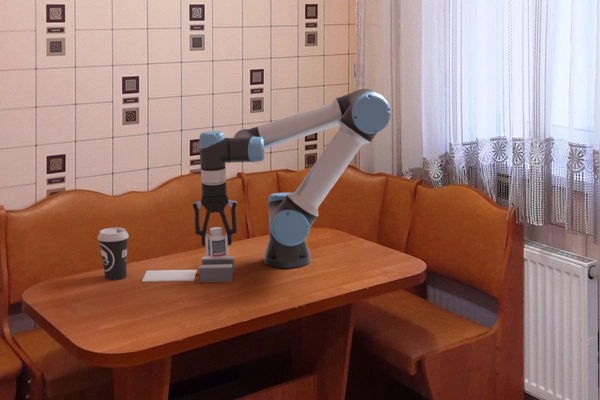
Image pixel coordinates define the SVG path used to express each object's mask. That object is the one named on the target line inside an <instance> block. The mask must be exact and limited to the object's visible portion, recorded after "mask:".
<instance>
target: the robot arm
mask: <svg viewBox="0 0 600 400" xmlns="http://www.w3.org/2000/svg"><path fill="white" fill-rule="evenodd" d="M391 113H392V112H391V107H390V104H389V102H388V101H387V99H386V98H385V96H383V95H381V94H380V93H378V92H377V91H375V90H373V89H371V88H362V89H357V90H355V91H352V92H350V93H346V94H345V95H342V96H339V97H335V98H334V99H333V101H332V102H331V103H327V104H323V105H322V106H318V107H316V108H312V109H309V110H306V111H302V112H299V113H296V114H293V115H292V114H291V115H289V116H286V117H283V118H280V119H276V120H274V121H271V122H267V123H264V124H261V125H257V126H255V127H251V128H248V129H247V128H243V129H240V130H237V132H236V133H235V134H234V136H233V137H226V136H225V133H224V132H223V131H220V130H209V131H203V132H202V133H200V134H199V137H198V138H199V149H198V150H199V160H200V180H201V183H202V184H201V199H200V200H199V201H193V204H192V208H193V209H194V226H195V227H194V231H195V235H199V236H200V237H201V246H203V247H205V257H209V247H208V237H209V234H208V233H207V229H208V227H209V221H210V216H211V214H212V213H213V214H214V213H217V214H218V213H219V214H220V215H219V216H220V217H221V220H222V221H221V222H222V224H223V227H224V229H225V234H224V236H225V252H226V256H225V257H229V255H230V253H229V252H230V251H229V246H231V245H232V244H233V241H232V240H233V239H232V235H234V234H237V231H238V225H237V213H236V208H237V204H238V201H237V200H232V199H229V197H228V193H227V192H228V191H227V190H228V189H227V188H228V187H227V183H226V181H227V172H226V171H227V169H226V164H227V163H255V162H257V163H258V162H263V161H264V160H265V149H268V148H271V147H275V146H279V145H281V144H285V143H288V142H291V141H293V140H294V141H295V140H297V139H301V138H304V137H307V136H310V135H314V134H316V133H320V132H323V131H327V130H329V129H333V128H336V127H339V129H338V131H336V133H335V135H334V136H333V138H331V140H330V141H329V143H328V144H327V146H326V147H325V149H323V152H322V153H321V154H320V156H319V157H318V158H317V160H316V162H315V163H314V164H313V166H312V167H311V169H310V170H309V171H308V172H307V174H306V176H305V177H304V178H303V180H302V182H301V183H300V184H299V186H298V187H297V188H296V190H295V191H294V192H275V193H274V192H273V193H271V194H270V195H269V196H268V201H267V204H268V231H269V233H268V234H269V235H268V236H269V237H268V243H267V245H266V246H267V247H266V249H265V253H264V257H263V258H264V264H266V265H267V266H269V267H273V268H279V269H293V268H295V269H296V268H299V267H304V266H306V265H308V264H310V263H311V253H310V250H309V246H308V243H307V238H308V236H309V233H310V231H311V227H312V225H313V224H314V222H315V221H316V219H317V218H318V217H319V207H320V206H321V204H322V202H323V201H324V200H325V199H326V197H327V196H328V194H329V192H331V190H332V189H333V187H334V186H335V184H336V183H337V182H338V180H339V179H340V177H341V176H342V174H343V173H344V172H345V170H346V169H347V168H348V166H349V165H350V163H351V162H352V160H353V159H354V157H355V156H356V155H357V153H358V152H359V150H360V149H361V148H362V147H363V145H367V144H370V143H371V142H373V140H374V139H375V137H377V134H378V133H380V132H381V131H383V130H384V129H385V128H386V127H387V126H388V124H389V123H390V120H391V116H392V114H391ZM202 206H203V207H204V209H205V210H206V213H205V217H204V222H203V225H202V228H201V218H200V217H201V216H200V215H201V214H200V213H201V212H200V209H201V207H202ZM226 206H229V208H230V214H231V216H230V217H231V226H232V228H231V226H230V224H229V221H228V217H227V214H226V211H225V208H226ZM201 229H202V230H201Z"/></svg>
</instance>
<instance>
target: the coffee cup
mask: <svg viewBox="0 0 600 400" xmlns="http://www.w3.org/2000/svg"><path fill="white" fill-rule="evenodd" d="M128 238H130V236H129V233H128V231H127V230H126V228H123V227H108V228H104V229H103V228H102V229H101V230H99V234H98V235H97V241H98V242H99V248H100V253H101V259H102V260H101V261H102V266H103V271H104V277H105V279H106V280H108V281H119V280H123V279H125V278H126V277H127V270H128V269H127V267H128V263H127V262H128V261H127V260H128Z"/></svg>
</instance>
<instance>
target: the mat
mask: <svg viewBox="0 0 600 400" xmlns="http://www.w3.org/2000/svg"><path fill="white" fill-rule="evenodd" d="M197 272H198V269H170V270H169V269H168V270H166V269H162V270H146V271H145V273H144V275H143V277H142V280H141V282H142V283H155V282H156V283H157V282H158V283H159V282H160V283H161V282H163V283H164V282H169V283H170V282H194V281H195V279H196V275H197Z"/></svg>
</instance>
